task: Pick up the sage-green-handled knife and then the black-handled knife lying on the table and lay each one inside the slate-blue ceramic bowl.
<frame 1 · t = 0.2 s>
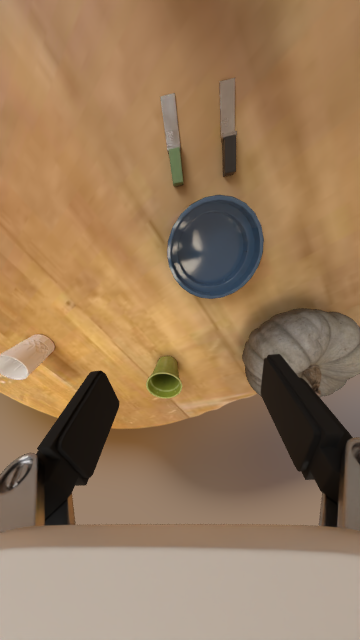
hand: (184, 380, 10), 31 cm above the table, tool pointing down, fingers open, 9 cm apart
black knife: (227, 132, 27), on the table
bowl: (210, 251, 35), on the table
green knife: (173, 144, 27), on the table
gourd: (281, 337, 45), on the table
plant pot: (167, 362, 50), on the table
white cup: (43, 343, 48), on the table
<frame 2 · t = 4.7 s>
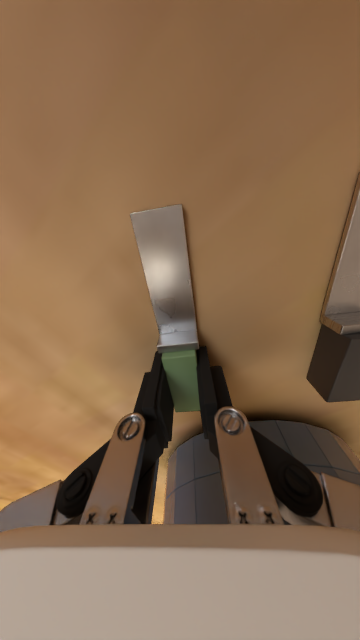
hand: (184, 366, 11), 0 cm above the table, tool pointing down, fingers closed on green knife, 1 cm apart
black knife: (345, 302, 9), on the table
bowl: (250, 464, 17), on the table
green knife: (176, 322, 9), on the table, touching gripper
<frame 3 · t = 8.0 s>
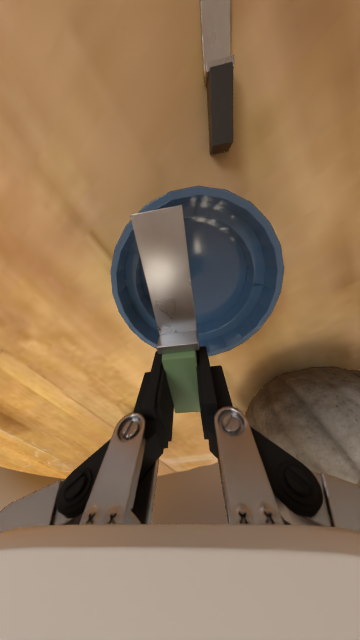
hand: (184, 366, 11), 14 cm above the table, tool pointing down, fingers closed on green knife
black knife: (216, 64, 14), on the table
bowl: (192, 278, 22), on the table
green knife: (176, 323, 9), point 14 cm above the table, touching gripper
gourd: (297, 391, 32), on the table
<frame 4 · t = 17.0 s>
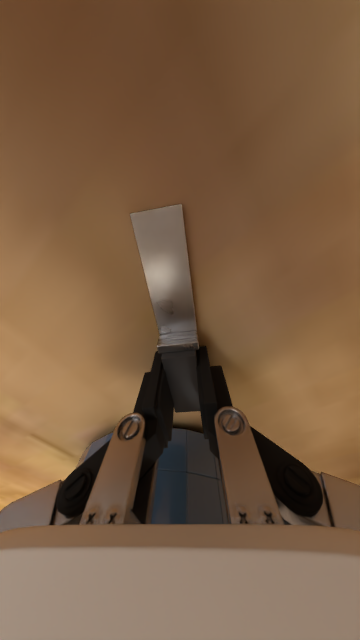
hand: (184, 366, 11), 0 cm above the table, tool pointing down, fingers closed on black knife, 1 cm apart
black knife: (176, 322, 9), on the table, touching gripper
bowl: (165, 467, 18), on the table
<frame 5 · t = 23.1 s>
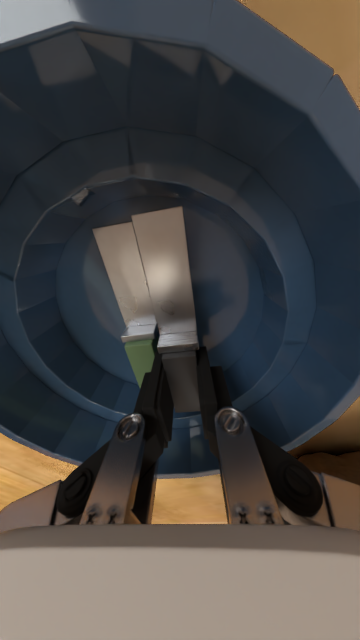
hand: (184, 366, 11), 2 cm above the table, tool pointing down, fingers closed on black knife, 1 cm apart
black knife: (177, 323, 9), point 2 cm above the table, touching gripper
bowl: (160, 315, 12), on the table
green knife: (140, 317, 11), point 1 cm above the table, touching bowl
gourd: (331, 466, 21), on the table
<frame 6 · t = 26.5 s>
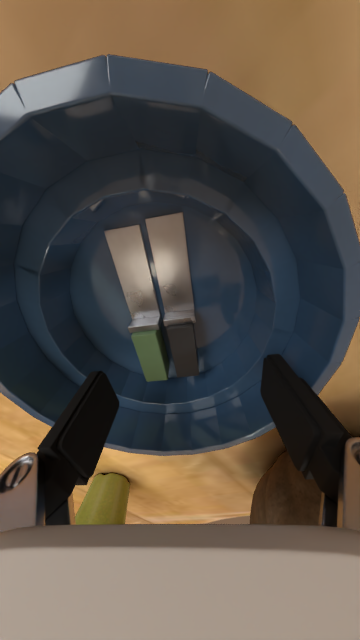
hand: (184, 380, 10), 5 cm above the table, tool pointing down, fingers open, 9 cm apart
black knife: (178, 303, 12), point 1 cm above the table, touching bowl
bowl: (163, 309, 13), on the table
green knife: (145, 310, 12), point 1 cm above the table, touching bowl
gourd: (325, 456, 23), on the table
plant pot: (112, 478, 28), on the table
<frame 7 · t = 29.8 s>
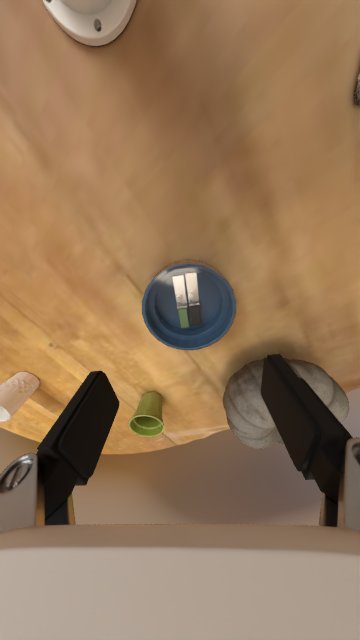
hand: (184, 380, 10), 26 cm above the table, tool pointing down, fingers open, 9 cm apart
black knife: (193, 298, 34), point 1 cm above the table, touching bowl
bowl: (187, 301, 35), on the table
green knife: (181, 301, 35), point 1 cm above the table, touching bowl
gourd: (263, 376, 45), on the table
plant pot: (152, 397, 50), on the table
white cup: (28, 379, 48), on the table
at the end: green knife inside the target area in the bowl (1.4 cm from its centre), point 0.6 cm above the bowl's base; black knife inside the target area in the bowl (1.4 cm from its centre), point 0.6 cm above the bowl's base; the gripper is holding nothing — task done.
